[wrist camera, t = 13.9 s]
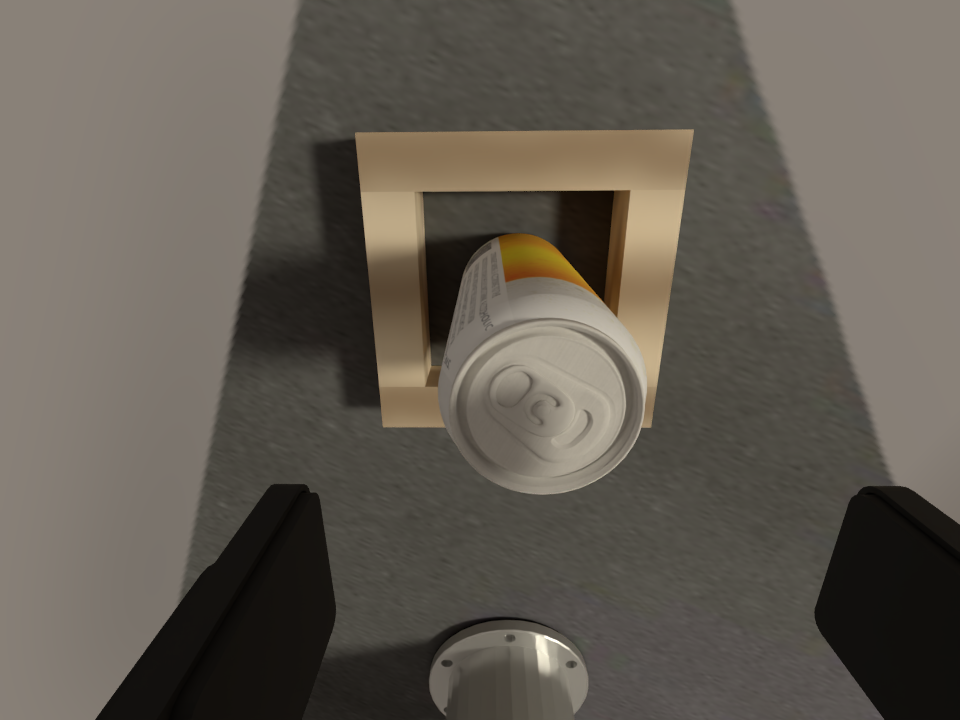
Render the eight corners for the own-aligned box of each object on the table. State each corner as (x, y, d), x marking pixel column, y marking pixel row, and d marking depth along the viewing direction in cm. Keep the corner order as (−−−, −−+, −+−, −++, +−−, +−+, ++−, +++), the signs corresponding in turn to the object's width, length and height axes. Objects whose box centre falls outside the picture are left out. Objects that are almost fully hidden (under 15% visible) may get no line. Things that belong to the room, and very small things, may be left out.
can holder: (635, 402, 29) (650, 427, 27) (392, 402, 30) (383, 427, 27) (669, 134, 24) (693, 129, 21) (370, 137, 24) (355, 132, 21)
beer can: (524, 357, 28) (559, 538, 14) (440, 297, 27) (390, 433, 13) (592, 276, 26) (709, 395, 13) (506, 207, 25) (529, 255, 11)
